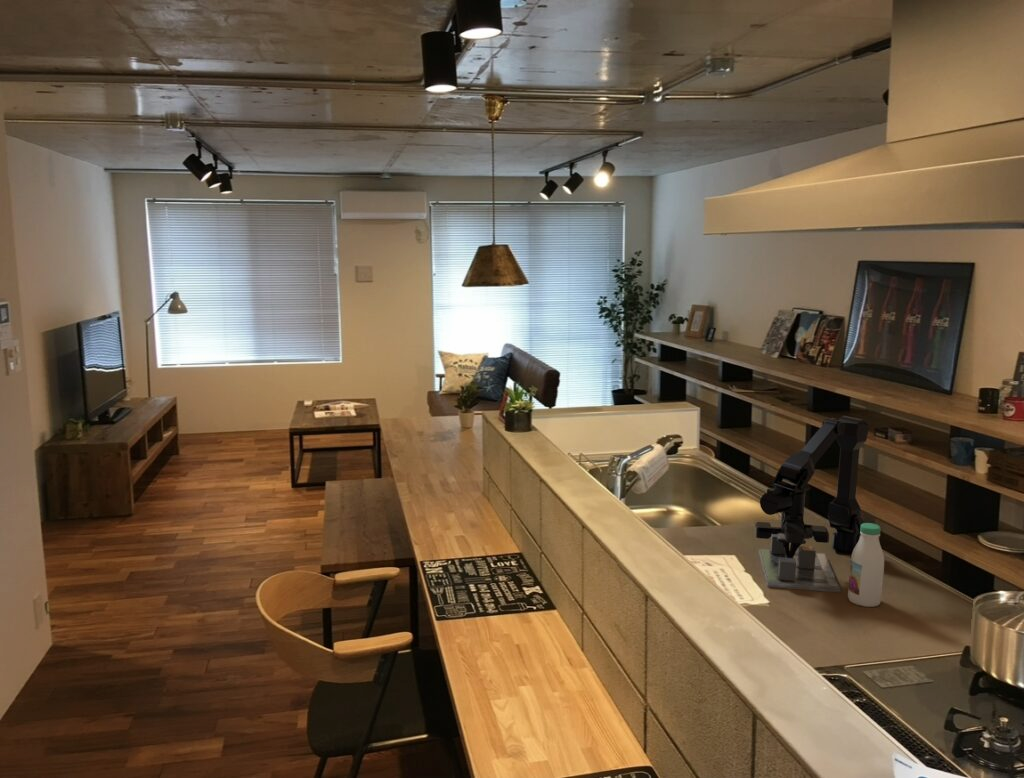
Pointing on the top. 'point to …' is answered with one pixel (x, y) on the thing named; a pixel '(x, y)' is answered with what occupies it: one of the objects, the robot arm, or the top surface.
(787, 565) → the block
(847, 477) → the robot arm
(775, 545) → the block
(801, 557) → the breaker mid
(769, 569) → the panel
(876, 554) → the milk bottle
